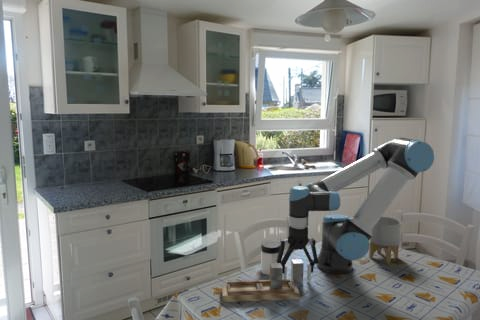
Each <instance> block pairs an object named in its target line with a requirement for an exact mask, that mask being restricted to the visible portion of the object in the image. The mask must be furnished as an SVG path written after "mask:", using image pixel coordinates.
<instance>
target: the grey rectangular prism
mask: <svg viewBox="0 0 480 320" xmlns="http://www.w3.org/2000/svg"><path fill="white" fill-rule="evenodd" d="M304 268H305V267H304V262H303V259H301V258H296V259H295V258H294V259H293V258H291V260H290V282H291V283H295V284H296V286H303V285H304Z"/></svg>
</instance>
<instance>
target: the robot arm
mask: <svg viewBox="0 0 480 320" xmlns="http://www.w3.org/2000/svg"><path fill="white" fill-rule="evenodd" d="M434 161H435V154H434V149H433V148H432V147H431V145H430V144H429V143H427V142H426V141H422V140H421V139H413V138H412V139H411V138H406V137H395V138H393V139H390V140H389V141H386V142H384V143H382V144H381V145H378V146H377V147H375V148H373V149H372V150H371V153H369V154H367V155H365V156H364V157H361V158H360V159H358V160H356V161H354V162H352V163H350V164H348V165H347V166H345V167H343V168H341V169H339V170H337V171H335V172H334V173H331V174H330V175H328V176H326V177H324V178H322V179H320V180H319V181H316V182H309V183H307V184H306V185H305V186H304V185H303V186H301V185H296V186H295V185H294V186H292V187H291V188H290V189H289V198H288V201H289V202H288V203H289V204H288V205H289V209H288V211H289V212H288V225H289V226H288V236H287V238H285V239H283V238H281V239H280V242H279V243H280V249H279V253H278V257H277V263H281V265H282V267H283V278H282V279H288V278H287V273H288V266H287V262H288V260H289V259H290V257H291V256H292V253H293V252H294V251H295V250H296V251H297V250H303V252H304V254H305V256H306V259H307V260H308V262H307V267H306V268H307V271H306V279H307V281H308V282H311V280H312V273H314V270H315V269H314V268H315V267H314V266H315V265H316V266H317V267H318V269H320V270H322V271H324V272H327V273H331V274H347V273H350V272H351V271H352V270H353V265H354V264H353V263H354V262H353V261H358V260H362V258H364V257H366V255H367V254H368V253H369V248H370V239H371V237H372V236H373V235H372V229H373V227H374V226H375V225H376V223H377V222H378V221H379V219H380V218H381V217H383V215H384V214H385V212H386V211H387V210H388V208H390V206H391V204H392V203H393V202H394V201H395V199H396V197H397V196H398V195H399V194H400V192H401V191H402V189H403V188H404V187H405V185H406V184H407V183H408V182H409V181H410V180H416V178H417V176H418V175H419V173H424V172H426V171H428V170H429V169H430V168H431V167H432V166H433V163H434ZM380 169H382V170H385V169H386V171H385V172H384V174H383V175H382V176H381V177H380V179H379V180H378V181H377V183H376V184H375V186H374V187H373V189H372V190H370V192H369V194H368V195H367V196H366V198H365V199H364V201H363V202H362V204H361V205H360V206H359V207H358V209H357V210H356V212H355V213H354V214H353V216H349V215H345V214H337V213H335V214H332V213H331V214H326V215H324V216H323V217H322V222H321V223H322V224H321V225H322V228H321V229H322V231H321V233H322V234H321V249H320V252H319V254H318V253H317V249H316V244H317V243H316V242H317V241H316V240H315V238H314V237H312V238H309V216H310V215H309V213H310V212H332V211H333V212H334V211H337V210H339V209H340V206H341V196H340V194H339V191H341V190H343V189H345V188H347V187H348V186H350V185H352V184H354V183H356V182H358V181H360V180H361V179H363V178H365V177H367V176H369V175H371V174H373V173H375V172H376V171H379V170H380ZM287 243H288V248H287V250H286V252H285V248H286V245H287ZM308 243H309V244H310V249H311V252H312V253H311V254H312V257H311V254H310V253H309V251H308V249H307V247H306V246H307V245H308ZM284 253H285V254H284Z"/></svg>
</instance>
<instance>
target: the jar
mask: <svg viewBox="0 0 480 320" xmlns="http://www.w3.org/2000/svg"><path fill="white" fill-rule="evenodd" d="M280 245H281V242H278V241H275V240H274V241H273V240H267V241H266V240H265V241H263V242H261V245H260V246H261V247H260V271H261V274H263V275H267V276H270V263H277V257H278V253H279V249H280Z"/></svg>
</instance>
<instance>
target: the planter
mask: <svg viewBox="0 0 480 320" xmlns="http://www.w3.org/2000/svg"><path fill="white" fill-rule="evenodd" d="M401 227H402V222H401V220H399V219H397V218H393V217H388V216H382V217H381V218H380V219H379V221H378V222H377V223H376V225H375V226H374V227H373V229H372V235H373V236H372V237H371V239H370V240H369V250H368V257H369V259H373V258H374V254H375V253H378V254H381V253H382V249H383V250H384V253H385V262H386V264H391V261H392V253H393V258H395V259H398V258H399V248H400V246H399V245H400V242H401Z"/></svg>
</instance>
